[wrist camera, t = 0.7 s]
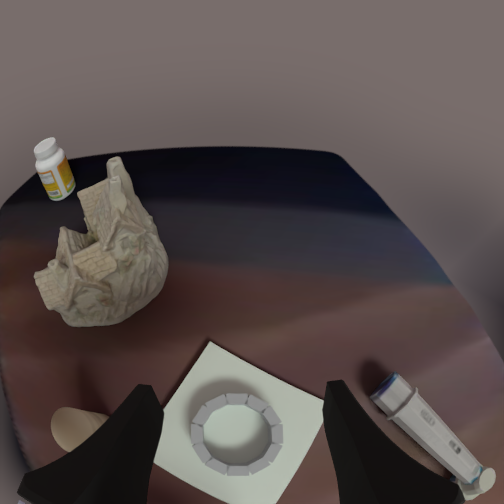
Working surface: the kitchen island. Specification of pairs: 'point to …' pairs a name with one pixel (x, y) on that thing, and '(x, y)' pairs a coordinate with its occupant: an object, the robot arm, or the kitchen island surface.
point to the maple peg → (74, 426)
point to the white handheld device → (432, 434)
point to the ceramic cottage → (106, 257)
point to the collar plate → (236, 430)
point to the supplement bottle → (54, 169)
